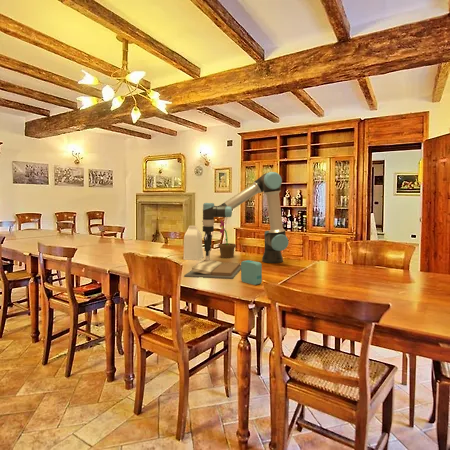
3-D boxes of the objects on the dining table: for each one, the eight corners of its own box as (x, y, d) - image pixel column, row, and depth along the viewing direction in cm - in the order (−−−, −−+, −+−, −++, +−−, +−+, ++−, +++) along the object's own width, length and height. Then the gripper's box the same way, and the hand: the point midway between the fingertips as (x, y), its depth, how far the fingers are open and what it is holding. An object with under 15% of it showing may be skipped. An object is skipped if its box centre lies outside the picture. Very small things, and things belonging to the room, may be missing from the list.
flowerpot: (216, 256, 271) (215, 219, 269) (232, 255, 276) (232, 218, 273) (221, 259, 258) (220, 220, 255) (238, 258, 262) (238, 220, 260)
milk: (183, 259, 259) (182, 226, 256) (189, 257, 270) (188, 225, 267) (197, 260, 255) (197, 226, 253) (203, 257, 266) (202, 225, 264)
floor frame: (243, 266, 230) (243, 262, 230) (232, 279, 196) (232, 273, 196) (201, 265, 237) (201, 261, 237) (184, 276, 203) (184, 271, 203)
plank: (222, 265, 231) (222, 262, 230) (210, 275, 202) (210, 271, 201) (205, 261, 233) (206, 258, 233) (191, 270, 204) (192, 267, 204)
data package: (262, 284, 184) (261, 262, 183) (256, 285, 181) (256, 263, 180) (246, 280, 193) (246, 259, 192) (240, 281, 190) (240, 260, 189)
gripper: (205, 224, 233) (205, 258, 235) (200, 226, 220) (199, 261, 222) (216, 225, 231) (215, 258, 233) (210, 226, 218) (210, 262, 220)
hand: (207, 260), depth 227 cm, fingers closed
